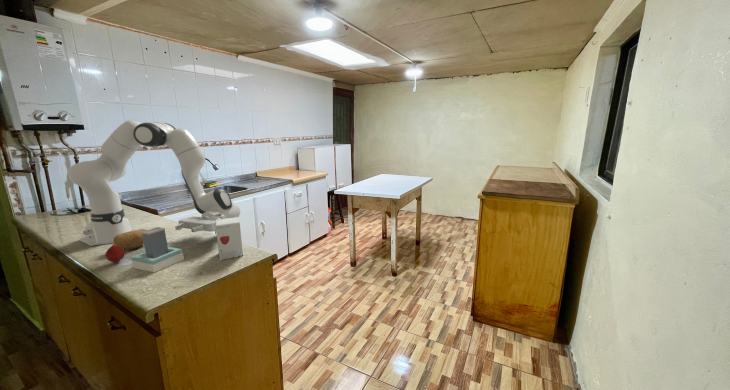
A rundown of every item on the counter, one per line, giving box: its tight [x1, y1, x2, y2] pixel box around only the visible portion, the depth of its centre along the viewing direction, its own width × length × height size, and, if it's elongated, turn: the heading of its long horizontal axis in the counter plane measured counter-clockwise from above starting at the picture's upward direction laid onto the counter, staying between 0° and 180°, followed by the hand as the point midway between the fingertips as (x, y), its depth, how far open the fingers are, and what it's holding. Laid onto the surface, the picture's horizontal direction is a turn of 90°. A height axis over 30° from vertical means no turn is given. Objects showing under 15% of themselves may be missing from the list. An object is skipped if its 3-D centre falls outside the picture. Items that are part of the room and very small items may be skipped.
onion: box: [105, 243, 126, 264], centre depth 115 cm, size 6×6×8 cm
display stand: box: [131, 246, 185, 273], centre depth 115 cm, size 12×12×4 cm
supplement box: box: [215, 217, 244, 261], centre depth 121 cm, size 9×9×15 cm
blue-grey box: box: [141, 226, 169, 259], centre depth 113 cm, size 4×6×11 cm
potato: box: [113, 228, 147, 250], centre depth 131 cm, size 10×14×8 cm
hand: (184, 229), depth 125 cm, fingers open, 8 cm apart
